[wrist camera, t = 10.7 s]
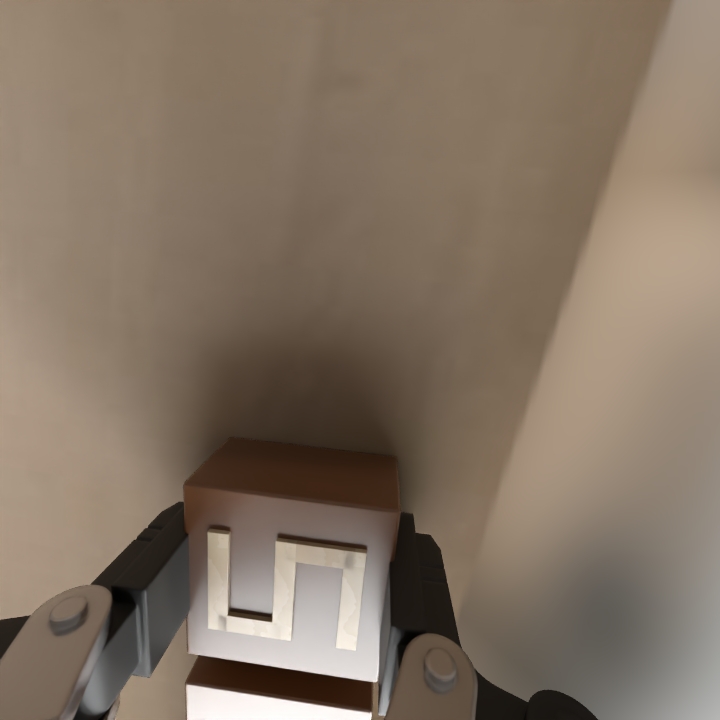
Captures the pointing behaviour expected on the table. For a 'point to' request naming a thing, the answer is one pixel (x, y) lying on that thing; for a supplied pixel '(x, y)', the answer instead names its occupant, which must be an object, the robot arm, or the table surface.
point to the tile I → (272, 693)
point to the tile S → (291, 556)
